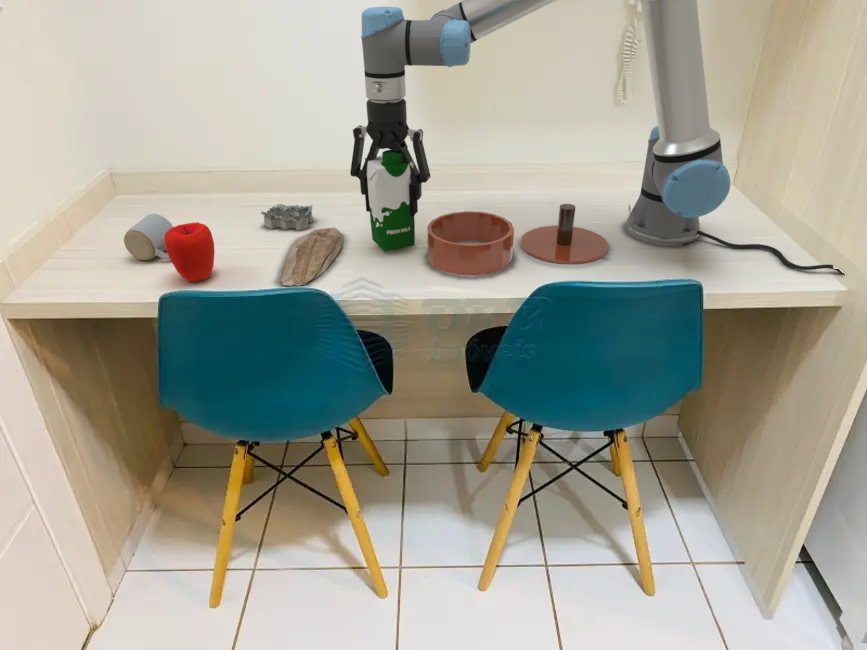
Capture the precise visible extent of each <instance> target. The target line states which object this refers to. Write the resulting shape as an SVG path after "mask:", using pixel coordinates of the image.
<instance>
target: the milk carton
mask: <svg viewBox="0 0 867 650" xmlns="http://www.w3.org/2000/svg"><path fill="white" fill-rule="evenodd" d="M366 158H367V157H365V158H364V161H365V160H366ZM414 163H415V162H414ZM414 163H413V162H412V161H411V162H410V165H411V167H412V168H414ZM410 173H411V172H410V166H409V164H408V163H403V153H398V154H397V153H396V151H395V150H390V149H385V150H383V152H381V155H377V156H376V158H375V159H374V160H371V161H368V165H367V181H368V195H369V208H370V212H369V220H370V232H371V239H372V241H373V242H374V243H375V245H377V246H378V247H379V248H380V249H381V250H382V251H383V252H384V253H387V252H392V251H397V250H403V249H406V248H410V247H415V246H416V230H415V229H416V228H415V227H416V226H415V225H416V221H415V215H414V216H410V196H409V185H410V184H411V183H412V180H411V178H410Z"/></svg>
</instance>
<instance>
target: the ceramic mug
mask: <svg viewBox="0 0 867 650" xmlns="http://www.w3.org/2000/svg"><path fill="white" fill-rule="evenodd" d="M173 227H174V226H173V224H172V223H171V221H169V220H168V219H167V218H166V217H164V216H163V215H160V214H158V213H149V214H147V215H146V216H144V217H143V218H142V219H140V220H139V221H137V223H135V224H134V225H133V226H132V227H130V228H129V229H128V230H127V231H126V233H125V234H124V236H123V244H124V247H125V249H126V250H127V251H128V253H129V254H130V255H131V256H132V257H134V258H135V259H137V260H140V261H149V260H152V259H154V258H156V257H159V258H161V259H164V260H170V258H169V256H168V253H167V252H165V251H167V250H166V247H165V234H166V232H167V231H168V230H169V229H171V228H173Z"/></svg>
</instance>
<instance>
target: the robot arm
mask: <svg viewBox="0 0 867 650" xmlns="http://www.w3.org/2000/svg"><path fill="white" fill-rule="evenodd" d="M556 1H557V0H461V1H459V2H458V3H455V4H454V5H452V6H450V7H447V8H446V9H442V10H440V11H438V12H436V13H435V14H433V15H432V16H431V18H430V19H420V20H418V19H415V20H414V19H413V20H412V19H406V18H405V16H404V11H403V10H402V8H400V7H397V6H374V7H368V8H366V9H365V8H364V10H363V11H362V13H361V36H360V39H361V45H362V56H363V57H362V58H363V67H364V68H363V69H364V85H365V86H364V88H365V97H366V98H367V99H368V100H367V101H366V116H367V117H366V118H367V125H366V126H365V125H364V126H363V125H361V124H360V125H359V124H358V125H357V126H356V127H354V128H353V129H352V135H353V139H354V142H353V150H352V157H351V165H350V172H349V173H350V176H351V177H354V178H358V179H359V185H360V186H359V187H360V194H361V195H363V196H364V201H365V212H368V213H370V208H369V195H368V181H367V165H368V161H371V160H374V159H375V158H376V156H378V154H379V152H380V150H395V151H396V153H397V154H398V153H403V163H408V164H409V166H410V172H411V173H410V178H411V180H412V183H411V184H410V185H409V196H410V216H414V217H415V215H417V213H418V212H419V206H418V205H419V204H418V201H419V200H420V199H421V198H422V195H423V193H422V192H423V191H422V184H423V183H424V184H425V183H427V182H428V181H429V179H431V172H430V168H429V167H430V166H429V164H428V159H427V154H426V151H425V147H424V143H423V139H424V131H423V129H421V128H419V129H412V128H410V126H409V125H408V122H407V121H408V120H407V119H408V118H407V117H408V116H407V114H408V113H407V101H406V99H405V97H406V96H407V87H406V69H405V68H406V66H409V67H410V66H411V67H412V66H413V67H414V66H425V67H427V66H428V67H430V66H431V67H448V68H453V67H459V66H460V67H461V66H466V65H467V64H468V63H469V62H470V57H471V44H473V43H474V42H476V41H478V40H480V39H482V38H484V37H486V36H488V35H490V34H492V33H494V32H496V31H497V30H501V29H502V28H504V27H506V26H508V25H510V24H512V23H514V22H517V21H518V20H520V19H522V18H524V17H526V16H528V15H530V14H532V13H534V12H536V11H538V10H540V9H543V8H544V7H546V6H548V5H550V4H552V3H554V2H556ZM638 1H639V3H640V9H641V16H642V23H643V30H644V37H645V43H646V52H647V59H648V66H649V71H650V80H651V85H652V92H653V93H652V94H653V100H654V107H655V113H656V120H657V125H656V126H653V128H652V129H651V131H650V135H649V138H648V140H647V143H648V144H647V150H646V157H645V161H644V162H645V163H644V169H643V175H642V181H641V188H640V193H639V196H638V198H637V200H636V202H635V204H634V206H633V207H632V208H631V204H628V207H627V210H628V213H629V214H628V218H627V220H626V230H627V232H629V233H630V234H631V235H633V236H634V237H637V238H640V239H641V240H645V241H648V242H653V243H659V244H671V245H672V244H682V245H685V244H689V243H692V242H694V241H696V240H697V239H698V237H699V236H702V237H704V238H708V239H710V240H712V241H715V242H716V243H718V244H721V245H723V246H726V247H730V248H734V249H735V248H736V249H753V248H754V249H755V248H756V249H764V250H768V251H771V252H773V253H774V254H776V256H777V257H778V258H779V259H780V260H781V262H783V263H784V264H785V265H786V266H788V267H790V268H793V269H795V270H799V271H801V270H802V271H811V270H820V269H821V270H822V269H831V270H834V271H836V272H838V273H839V274H840V275H842V276H846V275H845V274H844V273H842V272H841V271H840V270H839V269H833V265H834V264H816V265H799V264H795V263H792V262H791V261H789V260H788V259H787V258H786V257H785V256H784V254H783V253H782V252H781V251H780V250H779V249H777V248H775V247H774V246H771V245H766V244H760V243H748V244H737V243H731V242H727V241H726V240H723V239H721V238H719V237H716V236H714V235H712V234H709V233H706V232H703V231H702V230H701V231H700V228H701V227H700V218H701V217H703V216H706V215H708V214H710V213H712V212H714V211H716V210H717V209H718V208H719V207H720V206H721V205H722V203H724V202H725V201H726V199H727V197H728V196H729V193H730V190H731V177H730V173H729V170H728V169H727V167H726V166H725V165H724V162H723V152H722V143H721V134H720V133H719V132H718V131H717V130H716V129H713V128H712V127H711V125H710V116H709V105H708V96H707V85H706V77H705V68H704V59H703V57H704V56H703V49H702V39H701V29H700V20H699V10H698V0H638ZM367 135H368V137H370V139H371V140H372V142H371V145H370V147H369V151H368V153H367V156H366V157H365V158H366V160H365V159H364V162H363V155H364V147H365V142H366V141H365V139H366V137H367ZM407 137H409V139H410V142H412V149H413V153H414V156H415V157H414V158H415V161H416V162H415V161H414V159H413V157H412V155H411V152H410V151H409V149H408V148H409V147H408V144H407V142H406V139H407ZM411 161H412V162H413V163H414V168H412V167H411V165H410V162H411ZM362 162H363V165H362ZM416 164H417V165H416ZM699 217H700V218H699Z"/></svg>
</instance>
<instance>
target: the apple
mask: <svg viewBox="0 0 867 650" xmlns="http://www.w3.org/2000/svg"><path fill="white" fill-rule="evenodd" d="M165 247H166V250H165V251H166V253H168V256H169V258H170V259H169V260H170V261H171V263H172V265H173V267H174V268H175V270H176V272H177V273H178V274H179V275H180V276H181V278H183V279H185V280H186V281H188V282H193V283H196V282H202V281H204V280H206V279H208V278H209V277H210V276H211V275H212V274H213V273H212V272H213V268H214V264H215V263H214V262H215V242H214V238H213V234H212V231H211V229H210V228H209V227H208V226H207V225H206V224H204V223H201V222H188V223H182V224H178V225H175V226H173V228H171V229H169V230H168V231H167V232H166V234H165Z"/></svg>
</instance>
